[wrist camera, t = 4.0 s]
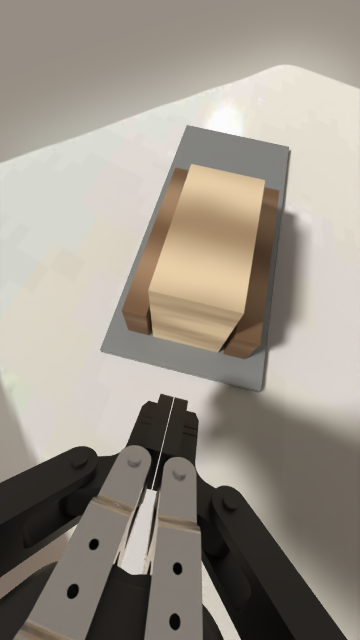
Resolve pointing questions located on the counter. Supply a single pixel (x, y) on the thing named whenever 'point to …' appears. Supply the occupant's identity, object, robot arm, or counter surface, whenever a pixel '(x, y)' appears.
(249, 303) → the chute rails
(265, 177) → the chute board
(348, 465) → the counter surface
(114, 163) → the counter surface
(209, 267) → the oak block
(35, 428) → the counter surface
